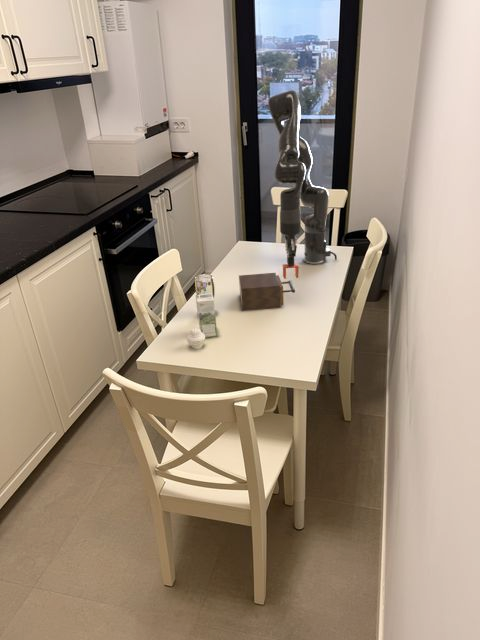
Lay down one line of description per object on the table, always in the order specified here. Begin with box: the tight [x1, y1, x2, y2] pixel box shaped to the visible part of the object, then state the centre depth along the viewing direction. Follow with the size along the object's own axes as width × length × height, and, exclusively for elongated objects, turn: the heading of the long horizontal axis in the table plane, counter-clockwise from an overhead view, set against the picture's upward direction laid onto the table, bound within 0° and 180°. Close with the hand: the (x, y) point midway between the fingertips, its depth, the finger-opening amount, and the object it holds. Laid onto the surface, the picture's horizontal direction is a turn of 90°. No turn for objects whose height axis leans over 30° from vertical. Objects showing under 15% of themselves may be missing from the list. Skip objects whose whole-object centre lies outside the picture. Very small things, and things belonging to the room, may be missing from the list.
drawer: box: [276, 274, 296, 306], centre depth 193 cm, size 18×11×7 cm, turn 96°
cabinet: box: [238, 272, 281, 311], centre depth 193 cm, size 15×13×9 cm
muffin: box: [186, 327, 206, 350], centre depth 166 cm, size 6×6×7 cm
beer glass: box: [194, 273, 217, 315], centre depth 184 cm, size 7×7×15 cm
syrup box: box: [195, 293, 218, 339], centre depth 172 cm, size 6×6×14 cm
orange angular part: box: [282, 263, 300, 280], centre depth 189 cm, size 6×3×8 cm, turn 96°
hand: (290, 264), depth 189 cm, fingers closed on orange angular part
